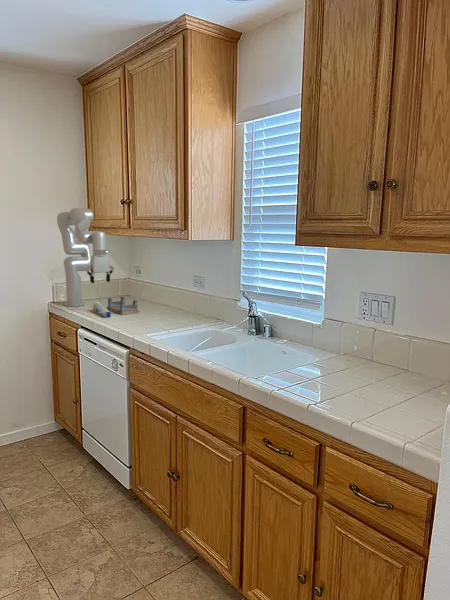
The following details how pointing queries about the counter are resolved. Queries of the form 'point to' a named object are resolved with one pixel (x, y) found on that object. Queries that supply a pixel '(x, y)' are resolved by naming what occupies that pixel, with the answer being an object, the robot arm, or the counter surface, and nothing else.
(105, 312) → the white elongated piece
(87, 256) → the robot arm
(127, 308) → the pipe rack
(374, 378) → the counter surface
